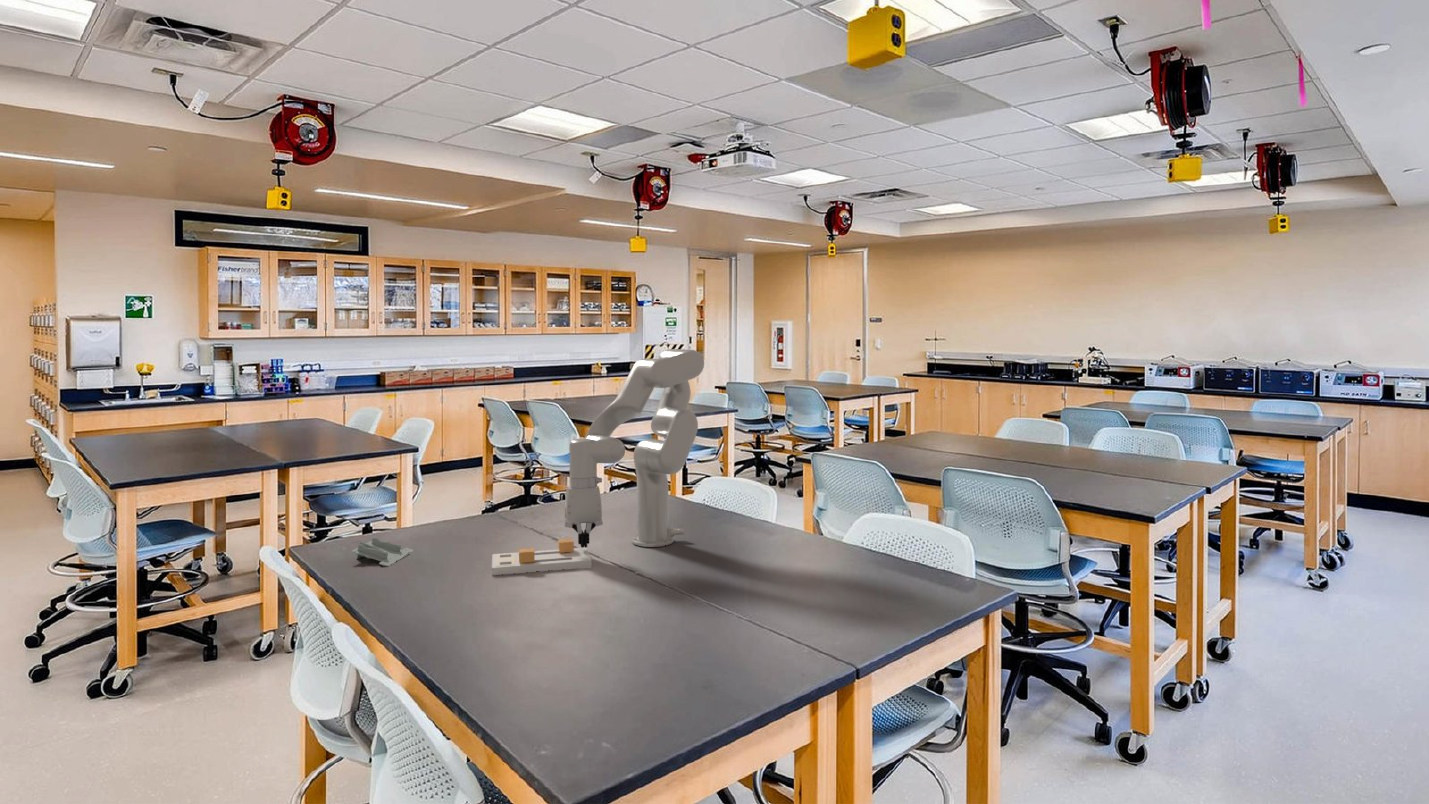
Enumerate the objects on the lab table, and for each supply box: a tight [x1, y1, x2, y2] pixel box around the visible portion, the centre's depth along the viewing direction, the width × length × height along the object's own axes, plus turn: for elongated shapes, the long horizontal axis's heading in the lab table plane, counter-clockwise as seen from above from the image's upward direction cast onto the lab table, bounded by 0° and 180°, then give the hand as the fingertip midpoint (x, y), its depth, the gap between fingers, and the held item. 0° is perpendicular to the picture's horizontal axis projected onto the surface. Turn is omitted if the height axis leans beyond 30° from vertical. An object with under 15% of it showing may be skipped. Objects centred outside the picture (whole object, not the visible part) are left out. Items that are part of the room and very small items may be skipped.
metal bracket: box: [351, 536, 414, 567], centre depth 216 cm, size 14×6×15 cm
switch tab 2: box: [557, 538, 575, 553], centre depth 215 cm, size 4×4×3 cm
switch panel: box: [491, 547, 592, 576], centre depth 210 cm, size 26×13×2 cm, turn 106°
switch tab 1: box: [518, 547, 535, 563], centre depth 205 cm, size 4×4×3 cm
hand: (583, 546), depth 216 cm, fingers closed
